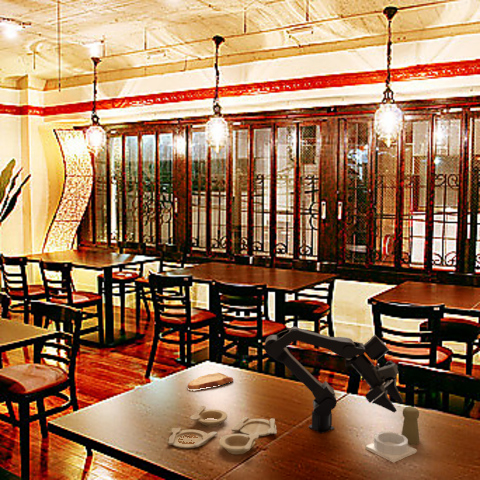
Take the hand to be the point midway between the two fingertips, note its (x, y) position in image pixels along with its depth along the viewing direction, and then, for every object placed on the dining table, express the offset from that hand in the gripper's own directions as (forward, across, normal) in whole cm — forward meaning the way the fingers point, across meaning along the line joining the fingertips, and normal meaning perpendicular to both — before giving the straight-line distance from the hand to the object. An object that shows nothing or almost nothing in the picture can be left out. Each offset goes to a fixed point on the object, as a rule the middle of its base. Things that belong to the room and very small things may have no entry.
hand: (399, 406), depth 185 cm
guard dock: (+8, -10, +8) cm, 15 cm away
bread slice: (-50, +14, +66) cm, 84 cm away
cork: (+10, 0, +5) cm, 12 cm away
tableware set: (-29, -26, +45) cm, 59 cm away
